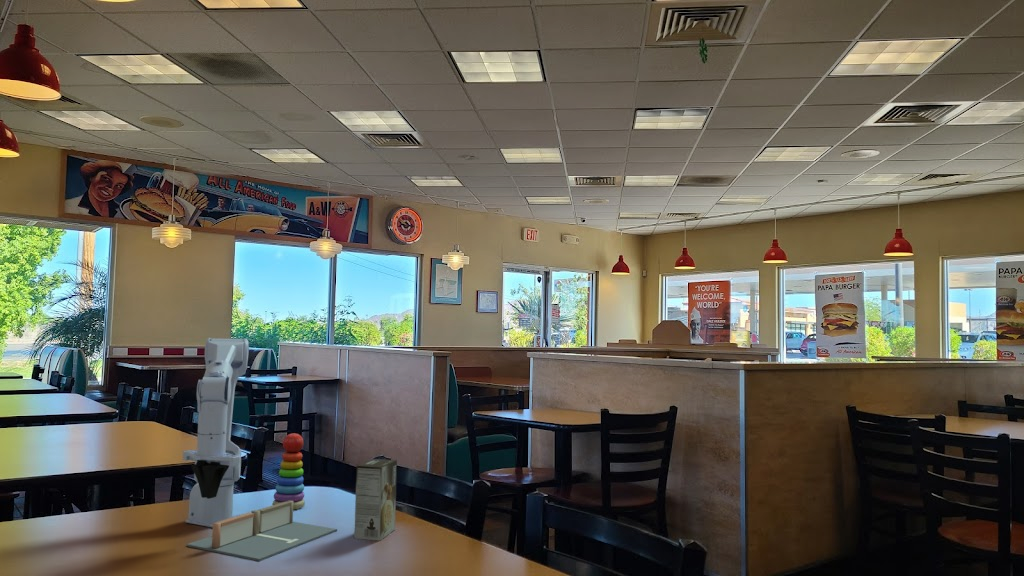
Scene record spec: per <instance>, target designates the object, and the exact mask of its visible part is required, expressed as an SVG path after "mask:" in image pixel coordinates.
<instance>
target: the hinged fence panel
mask: <svg viewBox="0 0 1024 576" xmlns="http://www.w3.org/2000/svg"><path fill="white" fill-rule="evenodd" d="M253 517H254V513H251V512H246V513H242V514H239V515H236V516H233V517H232V518H229V519H225V520H222V521H219V522H216V523H213V527H212V528H211V529H212V532H211V536H212V548H217V547H220V546H222V545H225V544H228V543H231V542H234V541H237V540H240V539H243V538H246V537H249V536H252V533H253Z"/></svg>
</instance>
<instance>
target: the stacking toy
mask: <svg viewBox="0 0 1024 576" xmlns="http://www.w3.org/2000/svg"><path fill="white" fill-rule="evenodd" d="M282 446H283V449H284V450H285V452H283V453H282V455H281V459H282V461H280V467H281V468H280V469H279V472H278V474H279V476H278V477H277V480H276V481H277V485H276V486H275V492H274V494H273V499H274V500H273V501H272V505H276V504H279V503H282V502H286V501H293V511H296V510H300V509H302V508H303V507H305V504H306V502H305V500H304V498H305V493H304V489H305V485H304V484H303V483H304V481H305V480H304V477H303V475H304V469H303V468H302V467H303V465H304V464H303V461H302V459H303V457H304V456H303V454H302V452H300V451H301V450H302V449H303V447H304V439H303V437H302V436H301V434H299V433H295V432H294V433H289V434H287V435H285V437H284V438H283V441H282ZM272 505H271V506H272ZM295 509H296V510H295Z"/></svg>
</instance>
